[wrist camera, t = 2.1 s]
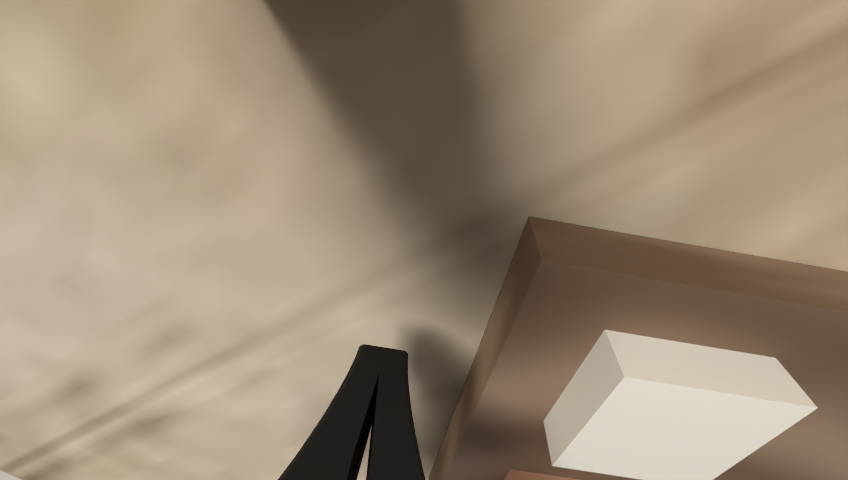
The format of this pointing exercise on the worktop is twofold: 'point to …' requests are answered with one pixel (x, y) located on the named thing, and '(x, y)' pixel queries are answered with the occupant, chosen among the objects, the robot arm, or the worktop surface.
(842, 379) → the walnut board
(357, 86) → the worktop surface
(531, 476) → the terracotta tile
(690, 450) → the cream tile
